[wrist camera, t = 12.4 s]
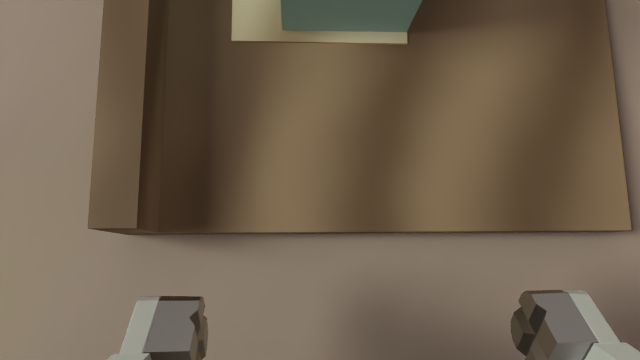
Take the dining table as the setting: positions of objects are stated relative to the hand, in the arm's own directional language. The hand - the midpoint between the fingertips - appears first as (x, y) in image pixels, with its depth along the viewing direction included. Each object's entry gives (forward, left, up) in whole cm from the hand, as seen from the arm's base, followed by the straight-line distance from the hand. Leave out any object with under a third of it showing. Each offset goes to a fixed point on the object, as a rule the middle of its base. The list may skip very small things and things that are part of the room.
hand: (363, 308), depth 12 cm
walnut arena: (+1, +11, -6) cm, 13 cm away
